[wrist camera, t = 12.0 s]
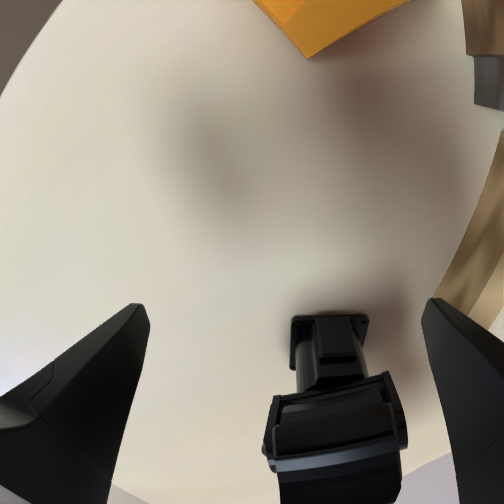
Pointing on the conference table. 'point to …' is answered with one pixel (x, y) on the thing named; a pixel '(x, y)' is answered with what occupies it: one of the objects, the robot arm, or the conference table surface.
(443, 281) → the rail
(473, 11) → the pronged block
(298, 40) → the bracket
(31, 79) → the conference table surface
